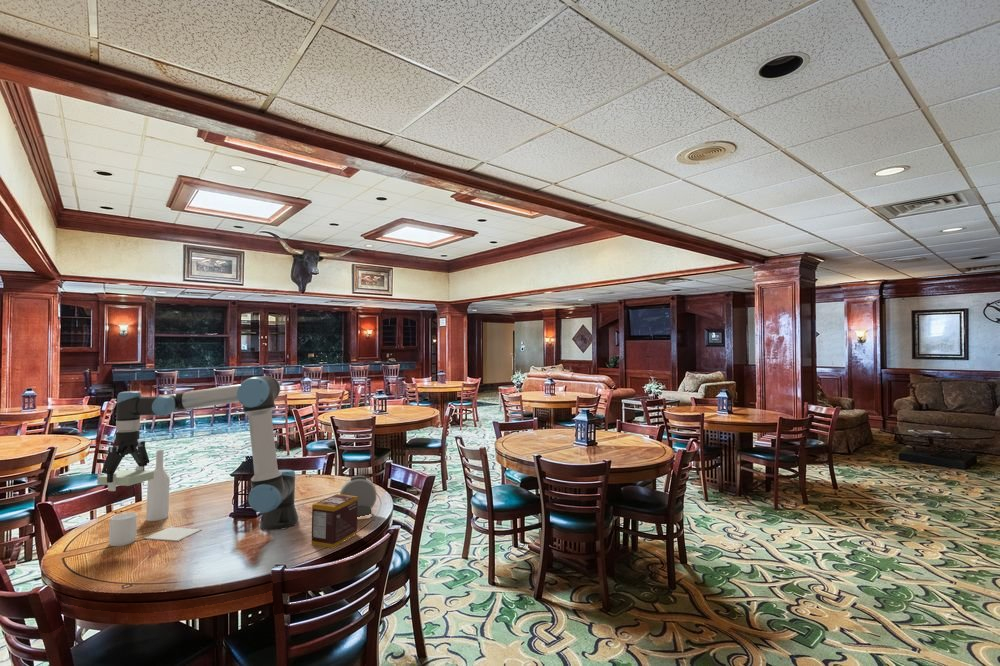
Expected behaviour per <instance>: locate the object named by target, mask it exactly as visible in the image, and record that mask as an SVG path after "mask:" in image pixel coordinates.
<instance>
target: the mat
mask: <svg viewBox="0 0 1000 666" xmlns="http://www.w3.org/2000/svg"><path fill="white" fill-rule="evenodd" d="M200 531H202V529H201V528H200V529H199V528H187V527H186V528H185V527H175V526H174V527H173V526H169V527H167V528H164V529H161V530H160V531H157V532H155V533H153V534H151V535H148V536H145V537H144V540H154V541H155V540H156V541H166V542H167V541H169V542H179V541H182V540H183V539H185V538H188V537H190V536H192V535H194V534H197V533H198V532H200Z"/></svg>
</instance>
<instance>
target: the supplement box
mask: <svg viewBox="0 0 1000 666" xmlns="http://www.w3.org/2000/svg"><path fill="white" fill-rule="evenodd" d="M311 506H312V507H311V508H312V509H311V545H312V546H318V547H324V548H329V547H330V549H334V548H336V547H338V546H339V545H338V544H340V543H341V542H343V541H344V540H346V539H348V538H349V537H351V536H353V535H354V534H356V533H357V534H358V520H357V507H358V496H350V495H342V494H340V493H336V494H334V495H332V496H329V497H327V498H324V499H322V500H319V501H317V502H314V503H313V504H312V505H311ZM353 537H354V536H353ZM348 540H349V539H348ZM343 543H344V542H343ZM341 544H342V543H341ZM341 544H340V545H341ZM337 545H338V546H337ZM335 546H336V547H335ZM333 547H334V548H333Z"/></svg>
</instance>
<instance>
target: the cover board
mask: <svg viewBox="0 0 1000 666" xmlns="http://www.w3.org/2000/svg"><path fill="white" fill-rule="evenodd" d="M114 473H116V486H121V487H122V486H123V487H124V486H125V487H130V486H133V485H136V484H141V483H140V482H143V483H144V482H146V481H147V482H148V480H151V479H154V470H144V471H138V470H136V469H134V470H132V469H122V470H118V471H115V472H114ZM96 484H97V485H102V486H103V485H104V486H108V483H107V474H102V475H99V476H97V483H96Z"/></svg>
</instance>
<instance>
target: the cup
mask: <svg viewBox="0 0 1000 666" xmlns="http://www.w3.org/2000/svg"><path fill="white" fill-rule="evenodd" d="M137 521H138V513H136V512H125V513H123V512H122V513H119V514H115V515H112V516H111V517H110V518H109V531H108V533H109V535H108V536H109V537H108V545H109V546H111V547H121V546H126V545H130V544H132V543H134V542H135V541H136V539H137V525H138V523H137Z"/></svg>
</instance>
